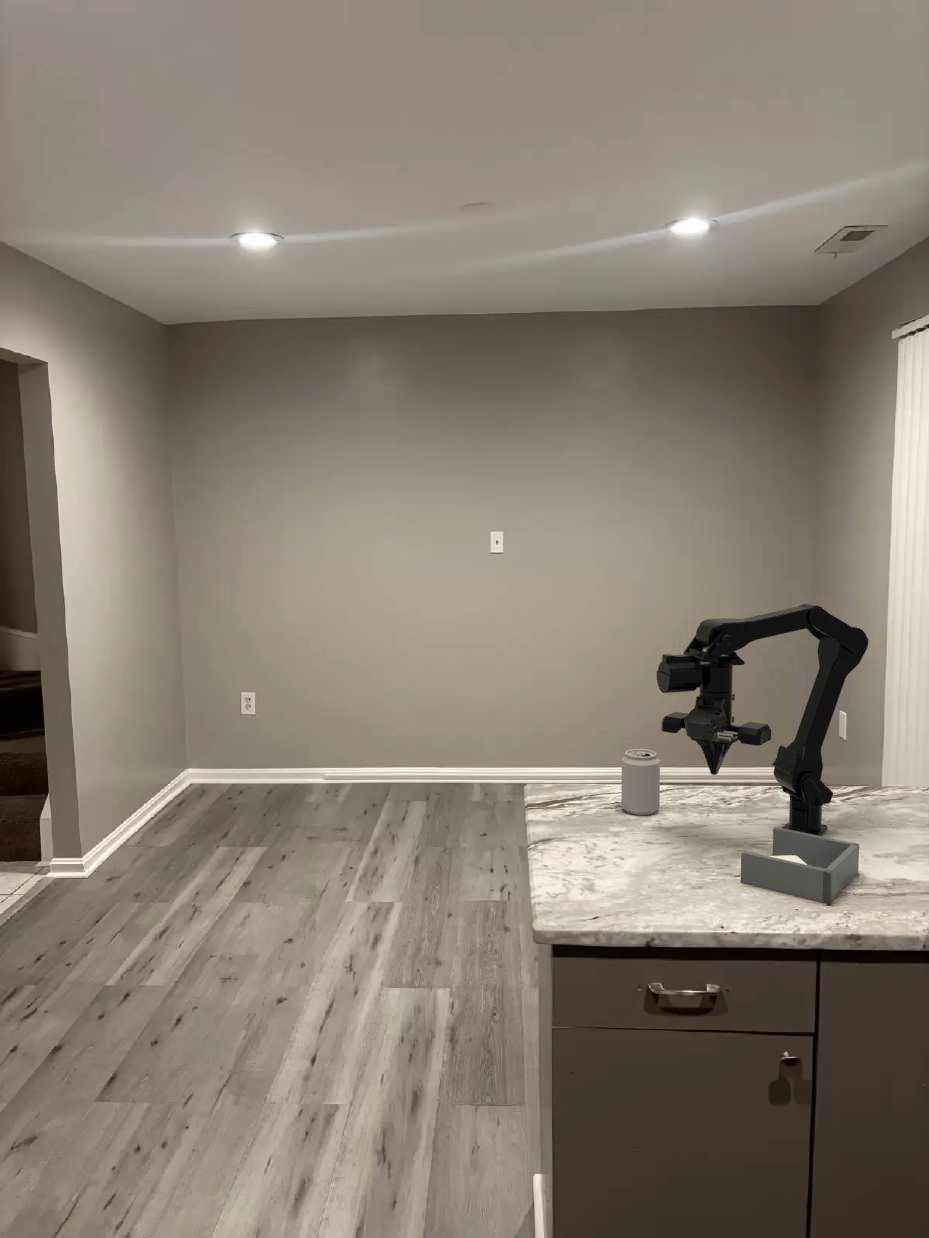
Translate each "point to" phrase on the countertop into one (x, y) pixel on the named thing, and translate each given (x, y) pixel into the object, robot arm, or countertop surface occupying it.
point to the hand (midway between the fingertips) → (714, 774)
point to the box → (803, 865)
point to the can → (640, 782)
